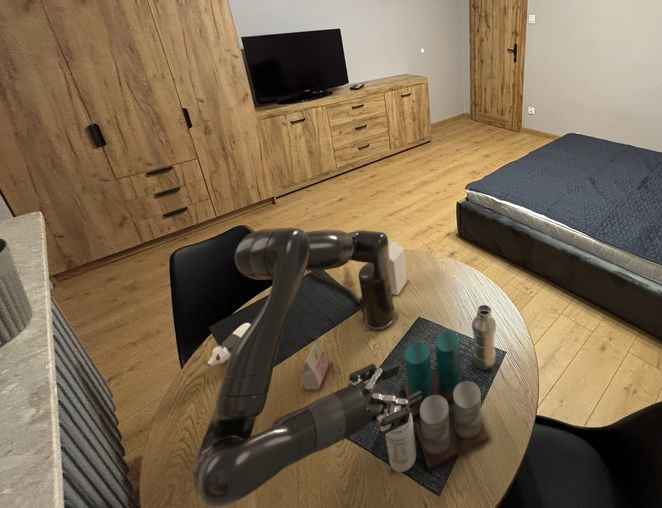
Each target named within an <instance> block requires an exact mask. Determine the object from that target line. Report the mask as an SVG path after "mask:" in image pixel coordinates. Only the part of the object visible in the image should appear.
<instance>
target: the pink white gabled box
mask: <svg viewBox="0 0 662 508" xmlns="http://www.w3.org/2000/svg"><path fill="white" fill-rule="evenodd" d="M328 368H329V364H328V359H327V355H326V351H325V350H324V349H323V348H322V347H321V345H320V344H319V343H318V341H317V340H316V341H315V342H314V343H313V345H312V347H311V349H310V351H309V354H308V356H307V358H306V360H305V362H304V366H303V369H302V372H301V374H300V375H301V379H302V382H303V386H304V389H305V390H317V391H318V390H319V389H320V388H321V385H322V383H323V380H324V378H325V376H326V373H327V371H328Z"/></svg>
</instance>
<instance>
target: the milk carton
mask: <svg viewBox="0 0 662 508" xmlns="http://www.w3.org/2000/svg"><path fill="white" fill-rule="evenodd" d="M388 244H389V261H390V267H389V273H390V281H391V289H392V295H395V296H398V295H399V294H400V292H402V290H403V289H404V286H405V285H406V284H407V281H408V280H407V273H406V272H407V271H406V263H405V251H404V248H403V247H402V246H401V245H400V244H399V243H398V242H397V241H396V240H395V238H394V237H393V238H392V239H391V240H390V241H388Z"/></svg>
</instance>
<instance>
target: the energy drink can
mask: <svg viewBox="0 0 662 508" xmlns="http://www.w3.org/2000/svg"><path fill="white" fill-rule="evenodd" d="M395 407H399V408H401V406H395ZM414 427H415V426H414V418H413V417H412V413H411V411H410V416H409V422H408V423H407V424H405V425H403V426H401V427H399V428H397V429H394V430H392V431H390V432H388V433H386V434H384V436H385V441H386V446H387V454H388V460H389V461H388V462H389V464H390V467H391V468H392V470H393V471H396V472H397V473H402V472H406V471H408V470H409V469H411V468H412V467H413V465H414V464H415V463H416V459H417V447H416V438H415V430H414V429H415V428H414Z"/></svg>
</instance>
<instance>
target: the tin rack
mask: <svg viewBox="0 0 662 508" xmlns="http://www.w3.org/2000/svg"><path fill="white" fill-rule="evenodd" d="M452 403H453V410H452V411H449V410H450V408H449V403H447V401H446V400H445V398H443V397H442V396H440V395H431V396H429V397H427V398H426V399H424V401H423V402H422V404H421V406H420V416H419V420H420V425H419V426H417V427H416V433H417V434H416V435H417V437H418V440H419V443H420V446H421V450H422V453H423V456H424V460H425V463H426V466H427V470H428V471H430V470H432V469H434V468H436V467H438V466H440V465H442V464H444V463H446V462H448V461H450V460H452V459H454V458H455V457H457V456H459V455H462V454H463V453H465V452H467V451H469V450H472V449H473V448H475V447H477V446H479V445H481V444H483V443H485V442H487V441H489V440H490V436H489V434H488V431H487V428H486V427H485V424H484V423H483V421H482V417H481V416H482V392H481V389H480V387H479V386H478V385H477V384H476V383H475V382H473V381H470V380H463V382H461V383H459V384H458V385H457V386H456V387H455V389H454V392H453V401H452Z"/></svg>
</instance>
